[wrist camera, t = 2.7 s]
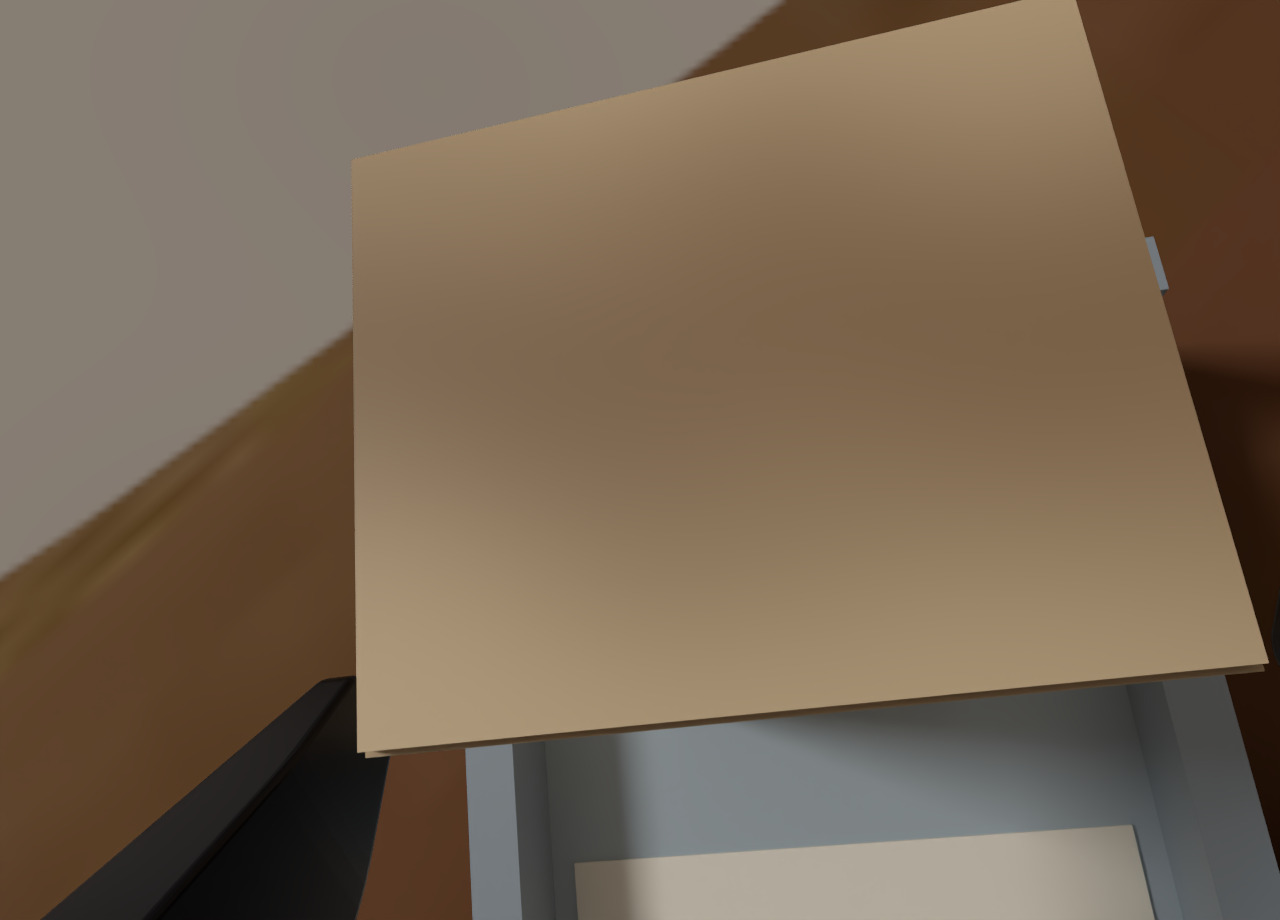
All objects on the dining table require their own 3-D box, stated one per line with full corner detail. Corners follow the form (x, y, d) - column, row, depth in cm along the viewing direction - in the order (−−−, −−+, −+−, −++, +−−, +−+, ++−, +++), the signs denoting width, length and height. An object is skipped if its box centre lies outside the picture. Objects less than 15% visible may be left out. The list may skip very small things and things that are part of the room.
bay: (1574, 1163, 15) (2075, 1491, 9) (545, 1165, 18) (405, 1402, 12) (1289, 311, 19) (1495, 145, 13) (502, 441, 22) (384, 356, 16)
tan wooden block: (963, 676, 17) (1281, 671, 5) (672, 706, 18) (351, 761, 6) (917, 438, 19) (1078, -19, 6) (648, 479, 20) (346, 156, 8)
